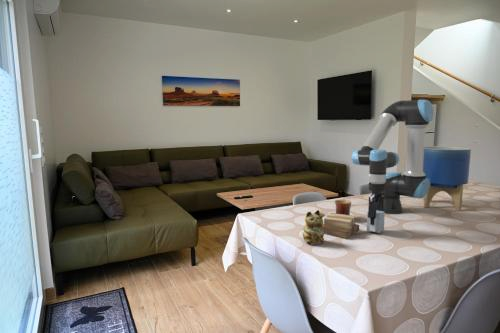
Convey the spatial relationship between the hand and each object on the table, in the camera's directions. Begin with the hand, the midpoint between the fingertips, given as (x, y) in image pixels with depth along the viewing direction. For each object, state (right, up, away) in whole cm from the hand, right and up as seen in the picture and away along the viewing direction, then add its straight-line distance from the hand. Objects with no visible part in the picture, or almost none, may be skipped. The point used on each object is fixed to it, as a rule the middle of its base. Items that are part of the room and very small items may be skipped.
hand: (375, 228), depth 159 cm
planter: (+60, +5, +48) cm, 77 cm away
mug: (-9, +1, +21) cm, 23 cm away
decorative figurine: (-33, -4, -12) cm, 35 cm away
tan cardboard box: (-17, -2, +1) cm, 18 cm away
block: (0, 0, 0) cm, 0 cm away
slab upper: (-17, +2, 0) cm, 17 cm away
